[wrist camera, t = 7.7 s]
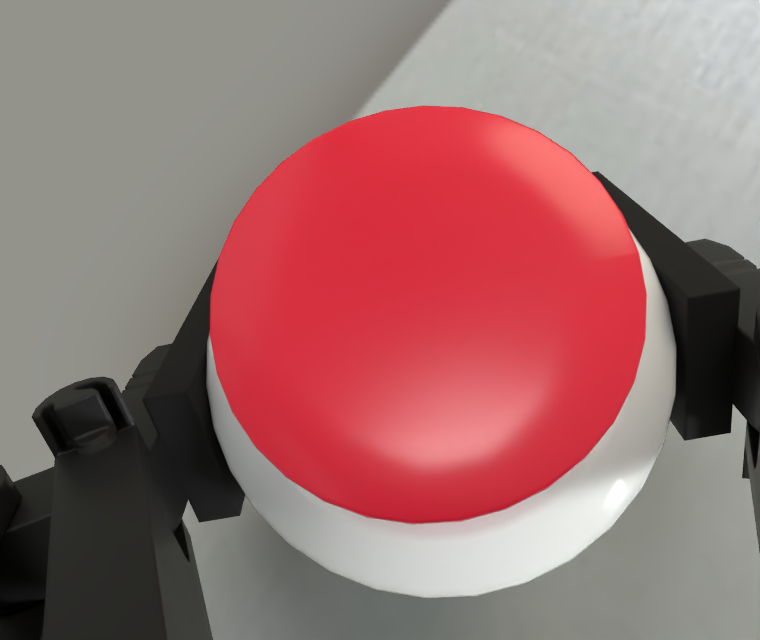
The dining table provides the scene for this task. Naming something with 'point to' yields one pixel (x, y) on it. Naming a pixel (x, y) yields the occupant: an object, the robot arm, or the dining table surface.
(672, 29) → the dining table surface
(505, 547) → the pill bottle
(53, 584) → the robot arm
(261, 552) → the dining table surface
